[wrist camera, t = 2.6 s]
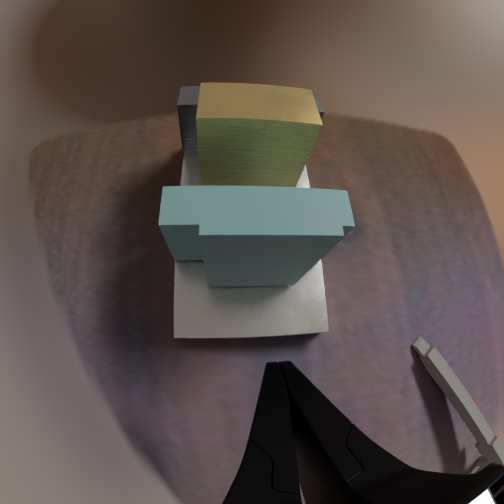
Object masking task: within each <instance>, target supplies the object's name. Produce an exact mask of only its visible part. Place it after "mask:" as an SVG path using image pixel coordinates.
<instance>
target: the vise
mask: <svg viewBox="0 0 504 504" xmlns="http://www.w3.org/2000/svg"><path fill="white" fill-rule="evenodd" d="M199 92H200V86H189V87H181V90H180V95H179V99H178V103H177V109H178V117H179V126H180V134H181V141H182V149H183V156H184V157H183V166H182V175H181V185H180V186H201V182H200V170H199V157H198V143H197V127H196V114H197V106H198V99H199ZM313 96H314V99H315V102H316V105H317V108H318V111H319V115H320V118H321V119H322V117H323V114H324V110H323V107H322V104H321V101H320V98H319V96H318V94H315V93H313ZM296 187H298V188H310V186H309V180H308V175H307V170H306V165H305V167H304V169H303V172H302V174H301V176H300V178H299V181H298V183H297V185H296ZM328 331H329V330H328V319H327V308H326V298H325V289H324V280H323V272H322V264H321V259H320V260H319V261H318V262H317V263H316V264H315V265H314V266H313V267H312V268H311V269H310V270H309V271H308V272H307V273H306V274H305V275H304V276H303V277H302V278H301V279H300V280H299V281H298V282H297V283H296V284H295V285H272V286H219V287H208V284H207V278H206V273H205V267H204V262H203V260H175V276H174V338H177V339H240V338H264V337H281V336H295V335H307V334H318V333H324V332H328Z"/></svg>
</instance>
